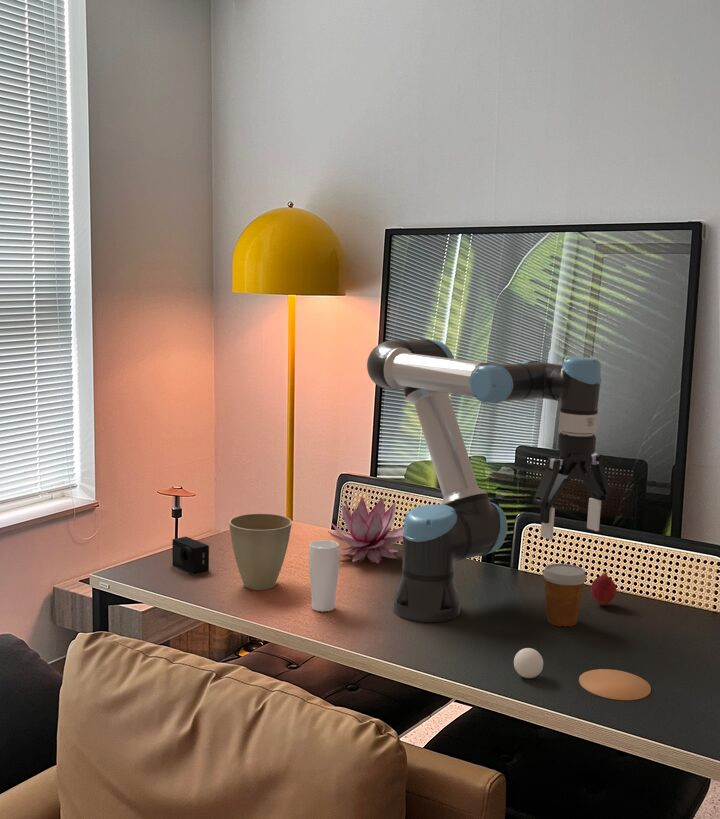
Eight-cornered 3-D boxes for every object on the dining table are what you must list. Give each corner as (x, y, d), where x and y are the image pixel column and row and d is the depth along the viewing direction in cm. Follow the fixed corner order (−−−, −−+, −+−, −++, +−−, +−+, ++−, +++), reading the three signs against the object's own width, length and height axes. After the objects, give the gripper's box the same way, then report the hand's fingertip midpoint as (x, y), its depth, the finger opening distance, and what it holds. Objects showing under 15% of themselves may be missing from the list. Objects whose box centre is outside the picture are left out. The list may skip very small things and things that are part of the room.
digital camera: (167, 566, 237) (167, 539, 236) (186, 562, 241) (186, 535, 240) (190, 576, 229) (190, 548, 228) (208, 571, 233) (209, 544, 232)
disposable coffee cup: (534, 614, 209) (537, 562, 208) (576, 614, 210) (579, 562, 208) (546, 630, 200) (549, 576, 198) (589, 629, 201) (593, 576, 199)
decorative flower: (408, 572, 237) (410, 514, 235) (325, 569, 237) (326, 512, 235) (406, 547, 258) (407, 495, 256) (329, 545, 258) (330, 492, 256)
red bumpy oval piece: (616, 610, 213) (618, 577, 212) (590, 608, 214) (592, 575, 213) (614, 602, 218) (616, 569, 217) (589, 600, 220) (591, 567, 218)
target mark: (581, 696, 168) (581, 695, 168) (576, 667, 181) (576, 666, 181) (655, 703, 166) (656, 702, 166) (645, 673, 179) (645, 672, 179)
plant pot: (216, 590, 220) (217, 524, 217) (247, 572, 233) (248, 510, 231) (273, 599, 214) (274, 532, 212) (301, 580, 228) (302, 517, 226)
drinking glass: (343, 606, 211) (344, 542, 209) (329, 615, 205) (331, 550, 203) (316, 601, 214) (318, 538, 212) (302, 610, 208) (304, 545, 205)
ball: (513, 681, 174) (514, 653, 173) (513, 669, 179) (514, 642, 178) (543, 684, 173) (544, 656, 172) (542, 672, 178) (543, 644, 177)
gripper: (546, 440, 179) (539, 546, 183) (632, 431, 193) (624, 530, 196) (519, 434, 185) (513, 536, 189) (605, 426, 199) (597, 521, 203)
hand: (570, 533), depth 193 cm, fingers open, 13 cm apart
